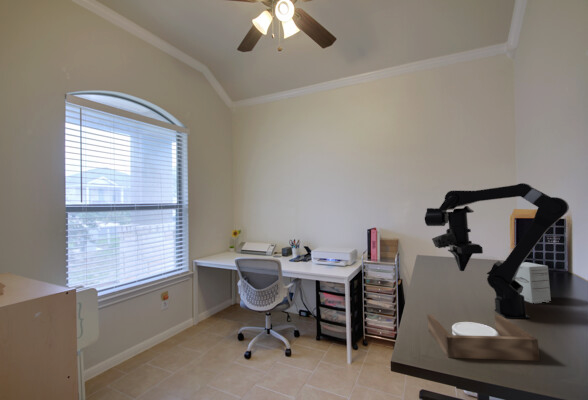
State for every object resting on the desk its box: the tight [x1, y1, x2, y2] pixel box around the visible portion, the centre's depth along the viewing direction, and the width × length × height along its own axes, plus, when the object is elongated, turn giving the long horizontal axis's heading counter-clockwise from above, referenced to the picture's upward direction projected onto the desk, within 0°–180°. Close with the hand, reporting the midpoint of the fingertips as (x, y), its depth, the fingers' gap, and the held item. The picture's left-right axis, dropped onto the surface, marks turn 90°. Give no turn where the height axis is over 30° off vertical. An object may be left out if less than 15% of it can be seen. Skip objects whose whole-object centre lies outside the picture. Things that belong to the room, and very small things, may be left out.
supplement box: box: [515, 261, 552, 304], centre depth 97 cm, size 7×7×13 cm
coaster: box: [451, 321, 500, 336], centre depth 68 cm, size 10×10×4 cm
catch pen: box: [426, 314, 541, 362], centre depth 67 cm, size 18×14×4 cm
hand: (461, 270), depth 94 cm, fingers closed
